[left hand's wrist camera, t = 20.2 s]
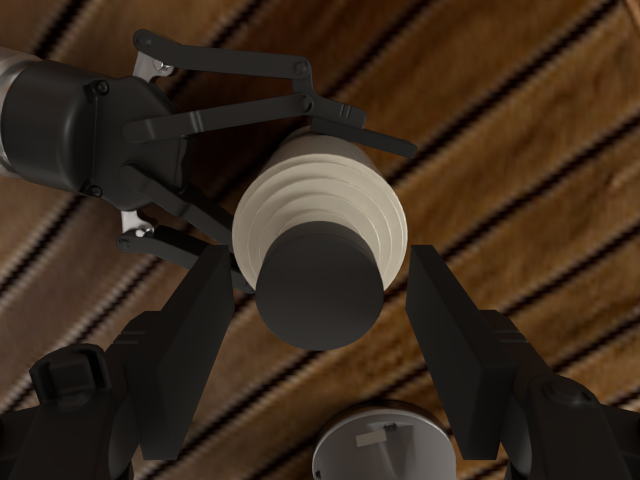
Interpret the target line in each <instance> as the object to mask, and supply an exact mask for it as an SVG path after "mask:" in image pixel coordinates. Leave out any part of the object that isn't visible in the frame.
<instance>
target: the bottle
mask: <svg viewBox="0 0 640 480" xmlns="http://www.w3.org/2000/svg"><path fill="white" fill-rule="evenodd" d="M309 129H310V125H309V126H305V127H302V128H300V129H297V130H296V131H294V132H292V133H291V134H290V135H288V136H287V137H286V138H285V139H284V140H283V141H282V142H281V143H280V145H279V146H278V147H277V149H276V150H275V152H274V153H273V154H272V156H271V157H270V158H269V160H268V161H267V163H266V164H265V165H264V167H263V168H262V169H261V171H260V172H259V174H258V175H257V176H256V178H255V179H254V181H253V182H252V183H251V185H250V186H249V187H248V189H247V190H246V192H245V193H244V195H243V197H242V198H241V200H240V202H239V204H238V207H237V210H236V212H235V216H234V221H233V227H232V243H233V249H234V254H235V258H236V261H237V263H238V266H239V268H240V270H241V272H242V274H243V276H244V277H245V278H246V280H247V281H248V283H249V284H250V285H251V286H252V288H253V289H254V290H255V288H256V282H257V278H258V275H259V272H260V269H261V266H262V263H263V260H264V257H265V255H266V252H267V250H268V249H269V247H270V245H271V244H272V243H273V242H274V240H275V239H276V238H277V237H278V236H279V235H280V234H282V233H283V232H285V231H286V230H288V229H289V228H291V227H293V226H296V225H298V224H301V223H305V222H310V221H329V222H334V223H338V224H341V225H343V226H346V227H348V228H350V229H352V230H353V231H355V232H356V233H357V234H359V235H360V236H361V237H362V238H363V239H364V240H365V241H366V242H367V244H368V245H369V246H370V248H371V250H372V252H373V254H374V257H375V259H376V262H377V265H378V268H379V271H380V275H381V278H382V281H383V286H384V290H385V289H386V288H387V287H388V286H389V285H390V283H391V282H392V281H393V279H394V278H395V276H396V274H397V273H398V271H399V269H400V267H401V264H402V262H403V259H404V256H405V252H406V246H407V224H406V218H405V214H404V211H403V208H402V206H401V204H400V201H399V199H398V197H397V196H396V194H395V193H394V191H393V190H392V188H391V187H390V185H389V184H388V183H387V181H386V180H385V178H384V177H383V176H382V174H381V173H380V171H379V170H378V169H377V167H376V166H375V165H374V163H373V162H372V160H371V159H370V158H369V156H368V155H367V153H366V152H365V151H364V149H363V148H362V146H361V145H360V144H358V143H355V142H351V141H347V140H344V139H340V138H337V137H333V136H330V135H326V134H322V133H319V132H315V131H312V130H309Z"/></svg>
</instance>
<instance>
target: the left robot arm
mask: <svg viewBox="0 0 640 480" xmlns="http://www.w3.org/2000/svg"><path fill="white" fill-rule="evenodd" d="M234 310H235V307H234V297H233V286H232V276H231V265H230V254H229V245H208V246H207V247H206V248H205V250H204V251H203V253H202V254H201V255H200V257H199V258H198V260H197V261H196V262H195V264H194V265H193V266H192V268H191V269H190V271H189V272H188V273H187V275H186V276H185V278H184V279H183V280H182V282H181V283H180V285H179V286H178V287H177V289H176V290H175V292H174V293H173V294H172V296H171V297H170V299H169V300H168V301H167V303H166V304H165V305H164V307H163V308H162V310H161V311H145V312H143V313H141V314H140V315H138V316H137V317H135V318H134V319H132V320H131V321H130V322H129V323H128V324H127V325H126V327H125V328H124V329H123V330H122V332H121V335H118V336H117V338H116V339H115V340H114V341H113V344H111V345H110V346H109V347H108V349H107V350H106V351H105V352H104V351H103V349H102V348H101V347H99V346H98V345H94V344H89V343H85V344H74V345H71V346H67V347H63V348H60V349H58V350H56V351H53V352H51V353H49V354H47V355H46V356H44V357H43V358H41V359H40V360H38V361H37V362H36V363H35V364H34V365H33V366H32V368H31V369H30V370H29V373H30V376H31V379H32V382H33V385H34V388H35V391H36V394H37V397H38V399H39V402H40V405H39V406H36V407H32V408H27V409H23V410H18V411H14V412H9V413H5V414H1V415H0V480H133V478H134V472H133V466H132V462H131V459H132V457H133V455H134V453H135V451H136V449H137V447H138V445H139V443H140V445H141V450H142V454H143V458H144V460H177V457H178V454H179V452H180V449H181V447H182V444H183V442H184V439H185V436H186V434H187V431H188V429H189V426H190V423H191V421H192V418H193V416H194V413H195V411H196V408H197V405H198V403H199V400H200V398H201V395H202V392H203V390H204V387H205V385H206V382H207V380H208V377H209V374H210V372H211V369H212V367H213V364H214V361H215V359H216V356H217V354H218V351H219V349H220V346H221V343H222V341H223V338H224V336H225V333H226V330H227V328H228V325H229V323H230V320H231V318H232V315H233V312H234ZM405 310H406V312H407V315H408V318H409V320H410V323H411V325H412V328H413V330H414V333H415V336H416V338H417V341H418V343H419V346H420V349H421V351H422V354H423V356H424V359H425V361H426V364H427V367H428V369H429V372H430V374H431V377H432V380H433V382H434V385H435V387H436V390H437V392H438V395H439V398H440V400H441V403H442V405H443V408H444V411H445V413H446V416H447V418H448V421H449V423H450V426H451V429H452V431H453V434H454V436H455V439H456V442H457V444H458V447H459V449H460V452H461V455H462V457H463V460H496V458H497V454H498V450H499V445H500V441H501V443H502V445H503V447H504V449H505V451H506V453H507V455H508V457H509V462H508V466H507V470H506V474H505V478H504V480H640V413H638V412H634V411H629V410H625V409H620V408H616V407H611V406H607V405H603V404H600V402H599V401H598V399H597V398H596V397H595V395H594V394H593V393H592V392H591V391H589V390H588V389H587V388H586V387H584V386H583V385H581V384H579V383H578V382H576V381H574V380H572V379H570V378H566V377H563V376H560V375H557V374H554V372H553V371H552V370H551V369H550V368H549V366H548V365H547V364H546V363H545V361H544V360H543V359H542V358H541V357H540V355H539V354H538V353H537V352H536V351H535V349H534V348H533V347H532V346H531V344H530V343H527V340H526V338H525V337H524V336H523V335H522V334H521V333H519V330H518V329H517V327H516V326H515V325H514V324H513V323H512V321H511V320H510V319H508V318H507V317H505V316H504V315H502V314H501V313H499V312H498V311H496V310H478V308H477V307H476V305H475V304H474V303H473V301H472V300H471V299H470V297H469V296H468V294H467V293H466V292H465V290H464V289H463V287H462V286H461V285H460V283H459V282H458V280H457V279H456V278H455V276H454V275H453V273H452V272H451V271H450V269H449V268H448V266H447V265H446V264H445V262H444V261H443V260H442V258H441V257H440V255H439V254H438V253H437V251H436V250H435V248H434V247H433V246H432V245H411V254H410V265H409V276H408V286H407V297H406V307H405ZM312 469H313V476H314V480H456V457H455V452H454V448H453V446H452V443H451V440H450V438H449V435H448V433H447V431H446V429H445V427H444V426H443V424H442V423H441V422H440V421H439V420H438V419H437V418H436V417H435V416H433V415H432V414H431V413H429V412H428V411H426V410H424V409H422V408H420V407H417V406H415V405H412V404H408V403H404V402H398V401H373V402H367V403H363V404H359V405H356V406H353V407H351V408H348V409H346V410H344V411H342V412H340V413H339V414H337V415H336V416H334V417H333V418H332V419H330V420H329V421H328V422H327V423H326V424H325V425H324V426H323V428H322V429H321V430H320V432H319V433H318V435H317V437H316V440H315V442H314V446H313V460H312Z"/></svg>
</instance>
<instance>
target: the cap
mask: <svg viewBox="0 0 640 480" xmlns="http://www.w3.org/2000/svg"><path fill="white" fill-rule="evenodd" d="M255 300H256V305H257V309H258V312H259V314H260V316H261V318H262V320H263V322H264V323H265V324H266V326H267V327H268V328H269V329H270V330H271V331H272V333H274V334H275V335H276V336H277V337H278V338H280V339H282V340H283V341H285V342H287V343H289V344H291V345H293V346H296V347H299V348H303V349H307V350H322V351H323V350H332V349H337V348H340V347H343V346H346V345H348V344H351V343H353V342H354V341H356V340H358V339H359V338H361V337H362V336H363V335H365V334H366V333H367V332H368V331H369V330H370V329H371V327H372V326H373V325H374V324H375V322H376V320H377V319H378V317H379V315H380V312H381V310H382V306H383V302H384V286H383V281H382V278H381V275H380V271H379V268H378V265H377V262H376V259H375V257H374V254H373V252H372V250H371V248H370V246H369V245H368V244H367V242H366V241H365V240H364V239H363V238H362V237H361V236H360V235H359V234H357V233H356V232H355V231H353V230H352V229H350V228H348V227H346V226H343V225H341V224H338V223H334V222H329V221H310V222H305V223H301V224H298V225H296V226H293V227H291V228H289V229H288V230H286V231H285V232H283V233H282V234H280V235H279V236H278V237H277V238H276V239H275V240H274V242H273V243H272V244H271V245H270V247H269V249H268V250H267V252H266V255H265V257H264V260H263V263H262V266H261V269H260V272H259V275H258V278H257V282H256V288H255Z"/></svg>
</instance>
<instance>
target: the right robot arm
mask: <svg viewBox="0 0 640 480" xmlns="http://www.w3.org/2000/svg"><path fill="white" fill-rule="evenodd" d="M133 43H134V46H135V47H136V49H137V50H138V51H139V52H138V56H137V60H136V64H135V67H134V71H133V75H132V76H125V77H122V78H113V77H110V76H106V75H103V74H99V73H96V72H92V71H88V70H85V69H81V68H78V67H74V66H71V65H67V64H63V63H60V62H56V61H52V60H42V59H40V58H38V57H37V56H35V55H31V54H28V53H24V52H20V51H17V50H13V49H9V48H6V47H2V46H0V175H2V176H6V177H10V178H17V179H23V178H24V179H25V180H27V181H29V182H32V183H36V184H40V185H44V186H48V187H52V188H56V189H60V190H64V191H68V192H72V193H76V194H80V195H85V196H91V197H97V198H101V199H103V200H105V201H107V202H109V203H110V204H111V205H113V206H114V207H115V208H117V209H118V210H120V211H121V217H122V227H123V234H121V235H120V236H119V237H118V238H117V239H116V245H117V247H118V248H119V249H120V250H122V251H125V252H133V253H144V254H152V255H155V256H157V257H160V258H162V259H164V260H167V261H169V262H172V263H174V264H177V265H179V266H182V267H184V268H187V269H189V270H190V269H191V268H192V266H193V265H194V264H195V262H196V261H197V260H198V258H199V257H200V255H201V254H202V253H203V251H204V250H205V248H206V247H207V246H208V245H212V244H209V243H207V242H204V241H202V240H200V239H197V238H195V237H193V236H190V235H188V234H186V233H183V232H181V231H178V230H176V229H173V228H171V227H167V226H162V225H158V220H157V219H155V218H151V217H148V216H146V215H145V214H144V213H143V211H142V208H144V207H147V206H149V205H152V204H154V203H156V204H158V205H159V206H160V207H162V208H163V209H165V210H166V211H168V212H169V213H170V214H172V215H174V216H176V217H181V218H184V219H185V220H187V221H188V222H189V223H191V224H192V225H194V226H195V227H196V228H198V229H199V230H201V231H202V232H204V233H205V234H206V235H208V236H209V237H211V238H212V239H214V240H215V241H216V242H218V243H219V244H221V245H229V251H231V252H232V253H231V252H229V254H230V265H231V276H232V286H233V288H236V289H238V290H241V291H243V292H246V293H249V294H252V293H255V290H254V289H253V288H252V286H251V285H250V284H249V283H248V281H247V280H246V278H245V277H244V276H243V274H242V272H241V270H240V268H239V266H238V263H237V261H236V258H235V254H234V249H233V243H232V227H233V221H234V216H232V215H231V214H230V213H228V212H227V211H226V210H224V209H223V208H222V207H220V206H219V205H217V204H216V203H215V202H213V201H212V200H211V199H209V198H208V197H206V196H205V195H204V194H203V193H202V191H201V189H200V188H199V187H197V186H196V185H195V184H193V183H192V182H190V181H191V175H192V164H191V156H192V154H193V152H194V150H195V147H196V141H197V135H195V134H194V133H199V132H203V131H209V130H215V129H221V128H227V127H233V126H239V125H245V124H251V123H257V122H263V121H270V120H276V119H282V118H288V117H294V116H300V115H308V116H311V117H312V121H311V125H310V129H309V130H312V131H315V132H319V133H322V134H326V135H330V136H333V137H337V138H340V139H344V140H347V141H351V142H355V143H358V144H362V145H365V146H369V147H372V148H376V149H380V150H383V151H387V152H390V153H394V154H397V155H401V156H405V157H408V158H412V159H413V158H414V155H415V152H416V150H417V146H415V145H414V144H412V143H410V142H409V141H406V140H403V139H399V138H396V137H392V136H389V135H385V134H382V133H378V132H374V131H371V130H367V129H364V128H363V127H364V124H365V120H366V117H367V114H366V113H365V112H364V111H363V110H361V109H360V108H358V107H355V106H351V105H348V104H344V103H341V102H337V101H334V100H331V99H327V98H324V97H321V96H319V95H318V94H317V93H316V92H315V90H314V87H313V79H312V68H311V64H310V62H309V60H307V59H306V58H305V57H302V56H294V55H284V54H273V53H262V52H251V51H241V50H230V49H219V48H208V47H198V46H187V45H182V44H180V43H177V42H175V41H173V40H171V39H169V38H167V37H165V36H163V35H160V34H157V33H154V32H151V31H148V30H145V29H140V30H137V31H136V32H135V34H134V36H133ZM179 68H182V69H189V70H196V71H205V72H216V73H227V74H238V75H249V76H260V77H270V78H281V79H291V81H292V90H293V94H292V95H286V96H280V97H274V98H268V99H262V100H256V101H250V102H244V103H238V104H232V105H226V106H220V107H214V108H208V109H202V110H197V111H191V112H185V113H181V112H180V111H179V109H178V108H177V107H176V106H175V105H174V104H173V103H172V102H171V100H170V99H169V98H168V97H167V96H166V95H165V94H164V93H163V92H162V90H161V89H160V88H159V87H158V86H157V85H156V84H155V82H156V80H157V78H158V77H160V76H166V77H172V76H174V75H176V74H177V72H178V69H179Z"/></svg>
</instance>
